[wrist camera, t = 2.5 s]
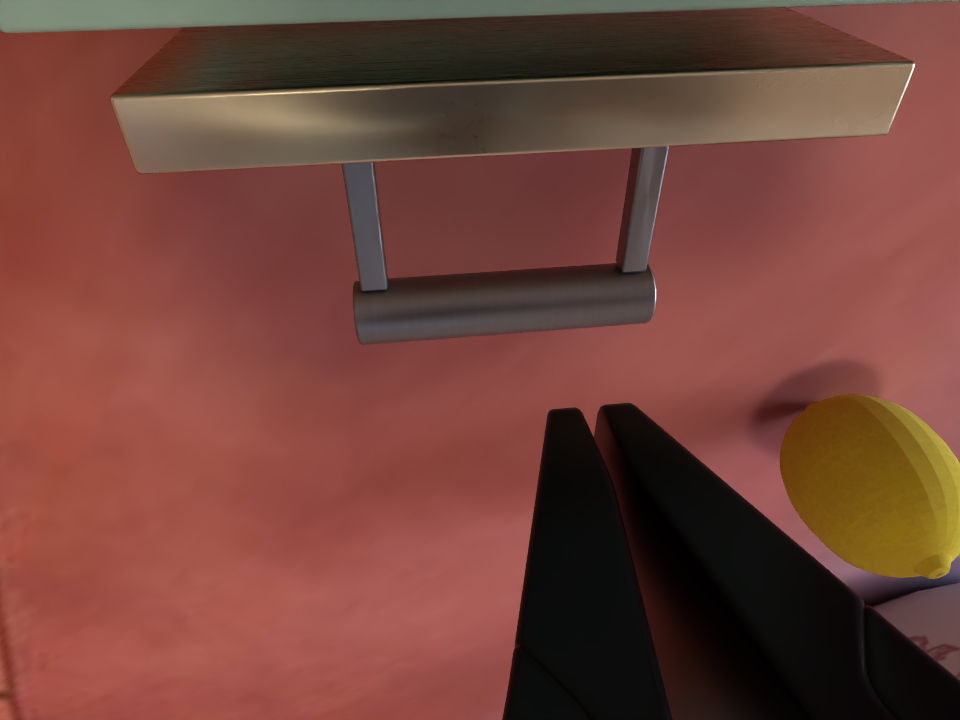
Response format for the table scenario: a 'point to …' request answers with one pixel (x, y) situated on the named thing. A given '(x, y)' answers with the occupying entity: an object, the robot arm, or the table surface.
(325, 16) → the pale green box
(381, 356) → the table surface
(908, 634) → the chamber pot
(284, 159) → the drawer
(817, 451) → the lemon
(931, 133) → the table surface
